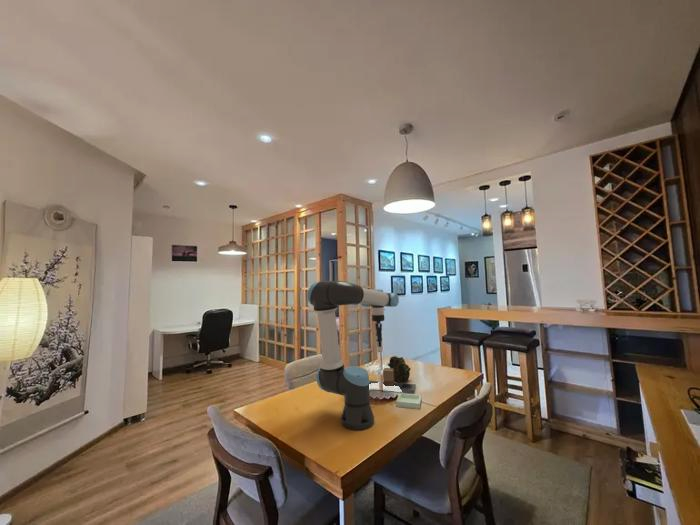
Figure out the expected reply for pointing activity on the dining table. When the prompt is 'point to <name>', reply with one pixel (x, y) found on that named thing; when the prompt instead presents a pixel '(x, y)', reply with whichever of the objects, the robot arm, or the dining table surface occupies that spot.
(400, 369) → the rock
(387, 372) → the block
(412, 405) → the tray
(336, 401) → the dining table surface
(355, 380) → the robot arm
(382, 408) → the dining table surface
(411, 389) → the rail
